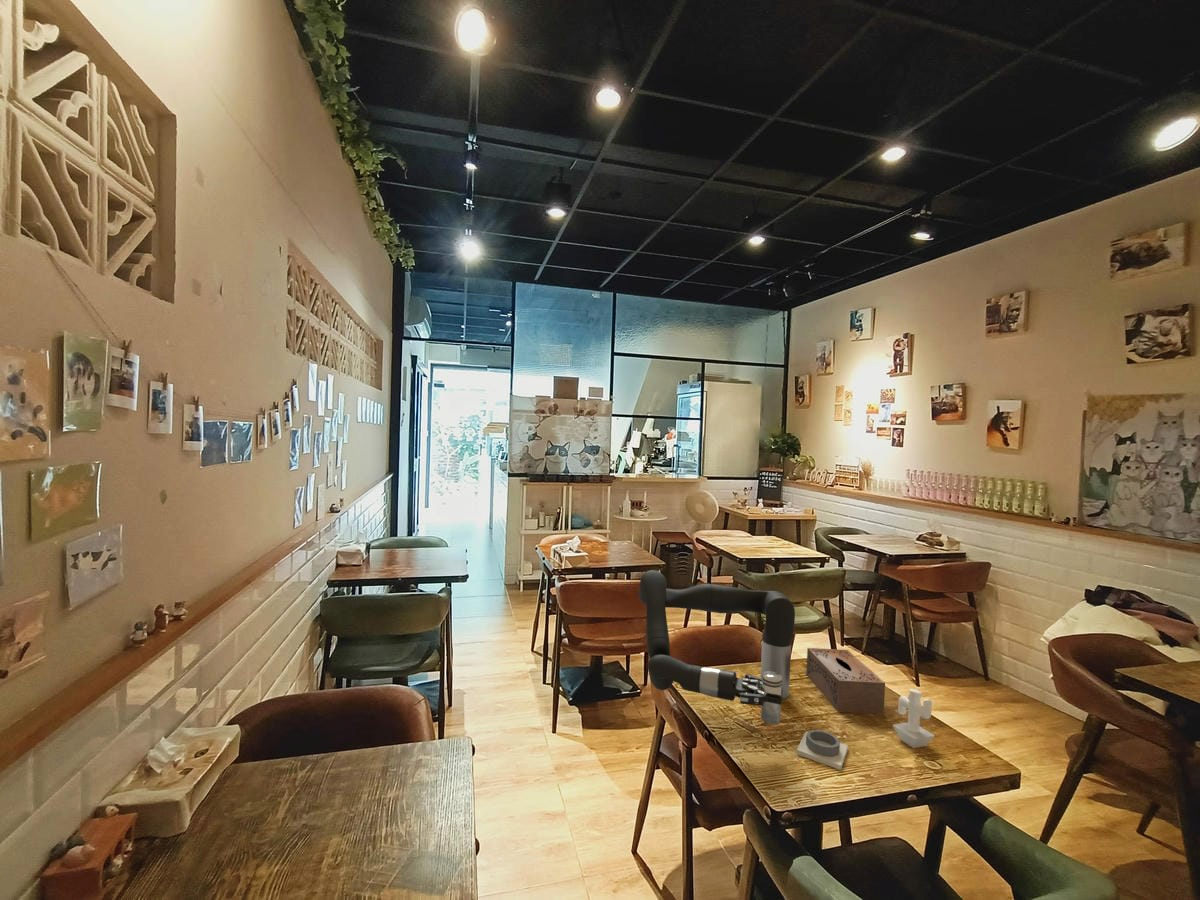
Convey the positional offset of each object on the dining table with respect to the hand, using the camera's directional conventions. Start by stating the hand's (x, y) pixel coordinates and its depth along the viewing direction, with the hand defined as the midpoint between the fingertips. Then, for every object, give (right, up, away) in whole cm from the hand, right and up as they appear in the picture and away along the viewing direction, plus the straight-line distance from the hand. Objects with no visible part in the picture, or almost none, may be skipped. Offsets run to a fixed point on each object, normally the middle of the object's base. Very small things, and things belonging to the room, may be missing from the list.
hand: (781, 695), depth 138 cm
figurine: (+40, -17, +7) cm, 44 cm away
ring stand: (+11, -16, +1) cm, 20 cm away
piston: (-3, -7, +1) cm, 7 cm away
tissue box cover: (+33, -17, +36) cm, 52 cm away
